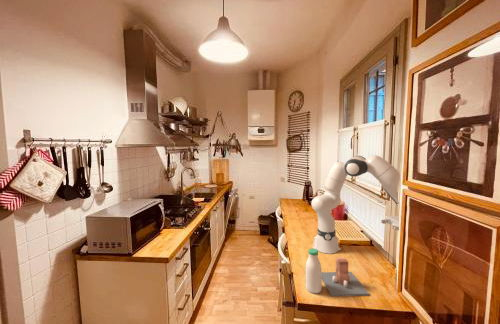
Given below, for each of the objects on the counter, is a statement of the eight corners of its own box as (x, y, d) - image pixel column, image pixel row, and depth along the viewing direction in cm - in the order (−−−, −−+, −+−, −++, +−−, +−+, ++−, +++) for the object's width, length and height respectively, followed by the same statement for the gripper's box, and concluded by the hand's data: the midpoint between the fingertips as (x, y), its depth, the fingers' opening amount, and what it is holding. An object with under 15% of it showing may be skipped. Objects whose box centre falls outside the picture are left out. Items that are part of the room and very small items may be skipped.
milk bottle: (324, 292, 103) (324, 252, 102) (311, 295, 101) (310, 255, 100) (315, 282, 110) (315, 245, 109) (302, 285, 108) (302, 248, 107)
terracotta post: (335, 279, 111) (335, 257, 110) (344, 279, 111) (344, 257, 110) (339, 284, 106) (339, 262, 106) (348, 284, 106) (348, 261, 106)
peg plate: (319, 274, 118) (319, 267, 117) (351, 273, 118) (351, 266, 117) (331, 296, 100) (331, 288, 100) (369, 295, 100) (369, 287, 99)
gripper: (399, 212, 120) (375, 213, 120) (430, 225, 99) (401, 225, 99) (399, 223, 120) (375, 223, 120) (430, 238, 99) (401, 238, 100)
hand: (387, 224), depth 109 cm, fingers open, 8 cm apart
